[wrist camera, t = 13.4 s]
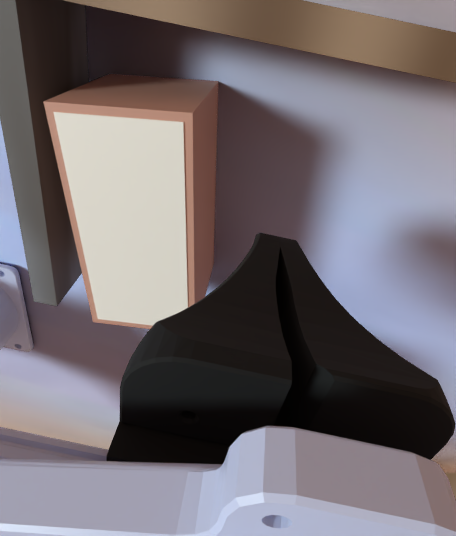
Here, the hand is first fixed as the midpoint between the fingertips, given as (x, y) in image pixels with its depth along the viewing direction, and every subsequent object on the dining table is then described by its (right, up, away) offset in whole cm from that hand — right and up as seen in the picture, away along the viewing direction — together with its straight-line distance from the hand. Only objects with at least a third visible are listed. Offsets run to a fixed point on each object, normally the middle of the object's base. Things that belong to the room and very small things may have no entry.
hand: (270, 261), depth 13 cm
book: (-5, +4, +7) cm, 10 cm away
